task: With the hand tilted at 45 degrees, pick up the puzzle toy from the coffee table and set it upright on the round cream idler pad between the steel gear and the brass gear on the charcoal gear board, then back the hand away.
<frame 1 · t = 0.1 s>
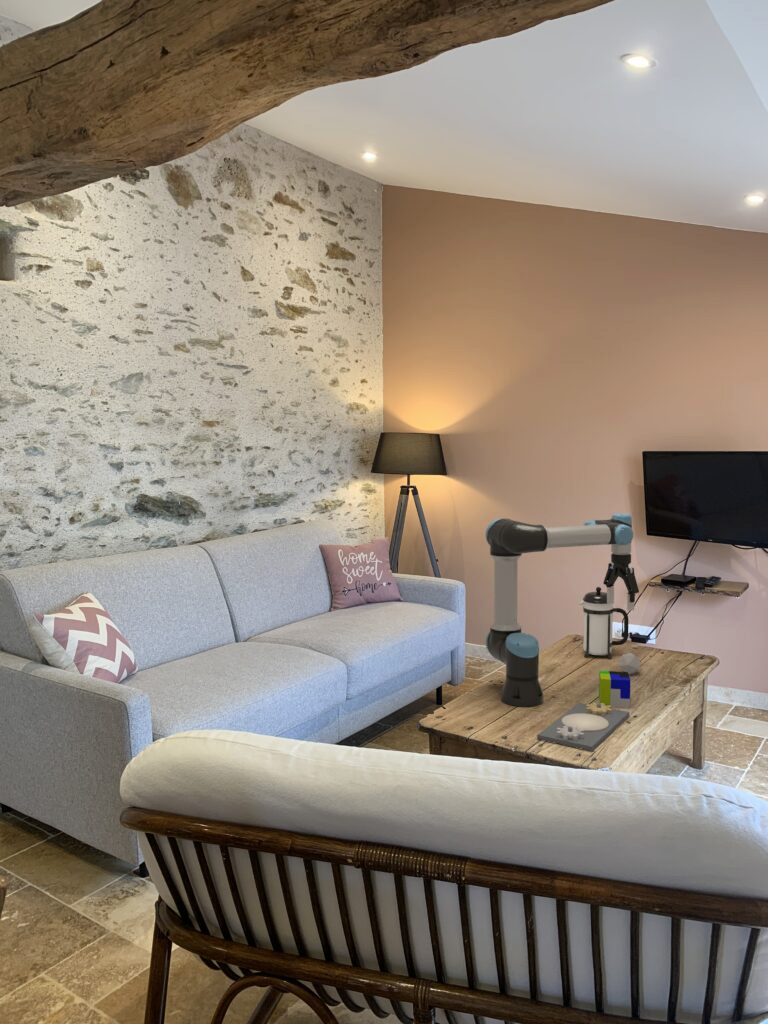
hand: (620, 606, 321), 28 cm above the table, tool pointing down, fingers open, 13 cm apart
gear board: (584, 727, 270), on the table
die: (629, 673, 328), on the table
coffee press: (600, 655, 353), on the table
puzzle toy: (614, 703, 294), on the table
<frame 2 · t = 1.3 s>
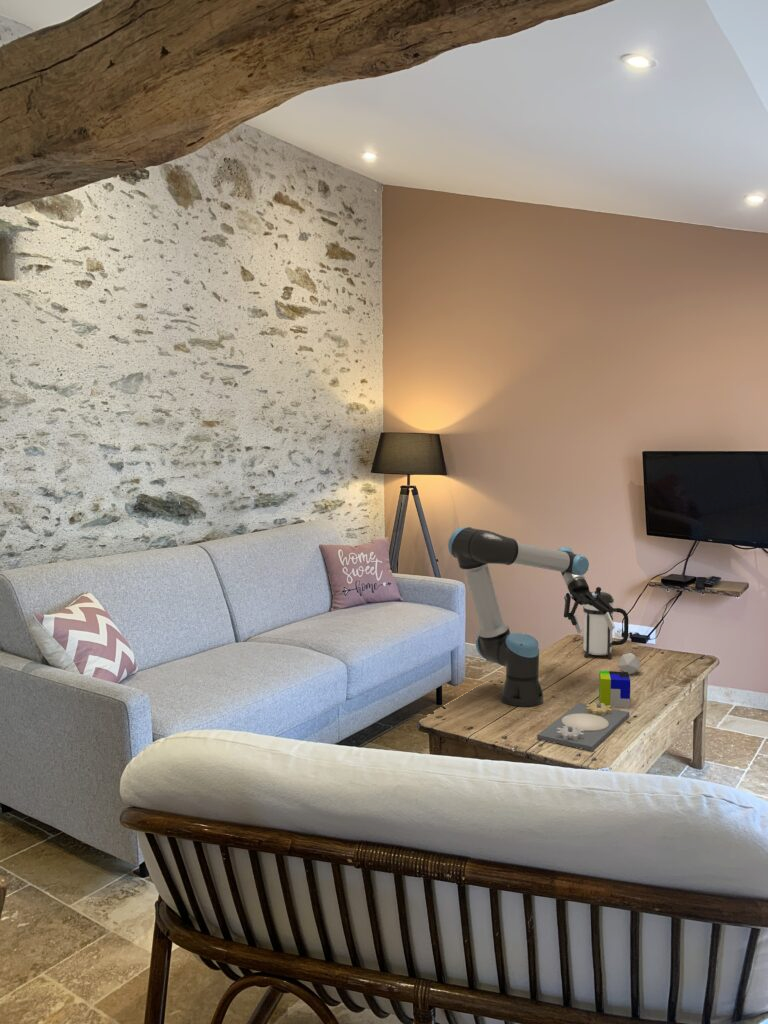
hand: (596, 630, 303), 23 cm above the table, tool tilted 45°, fingers open, 13 cm apart
nothing on the table moved.
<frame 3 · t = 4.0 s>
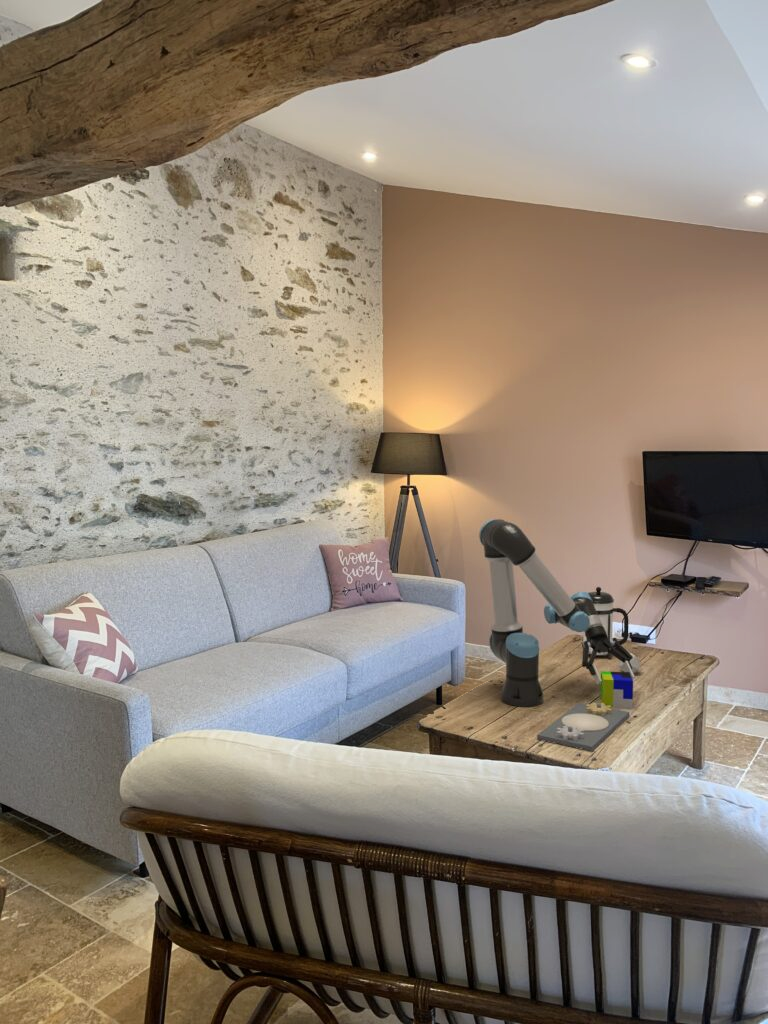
hand: (615, 680, 296), 7 cm above the table, tool tilted 45°, fingers open, 13 cm apart
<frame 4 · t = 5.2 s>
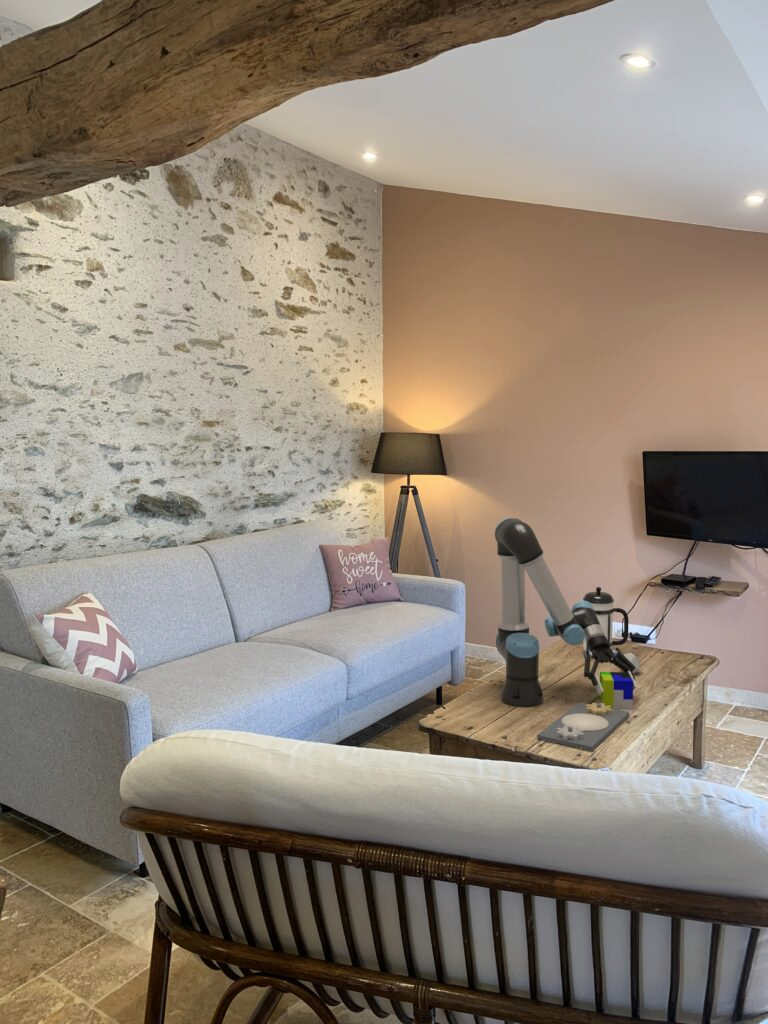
hand: (618, 691, 291), 5 cm above the table, tool tilted 45°, fingers open, 13 cm apart
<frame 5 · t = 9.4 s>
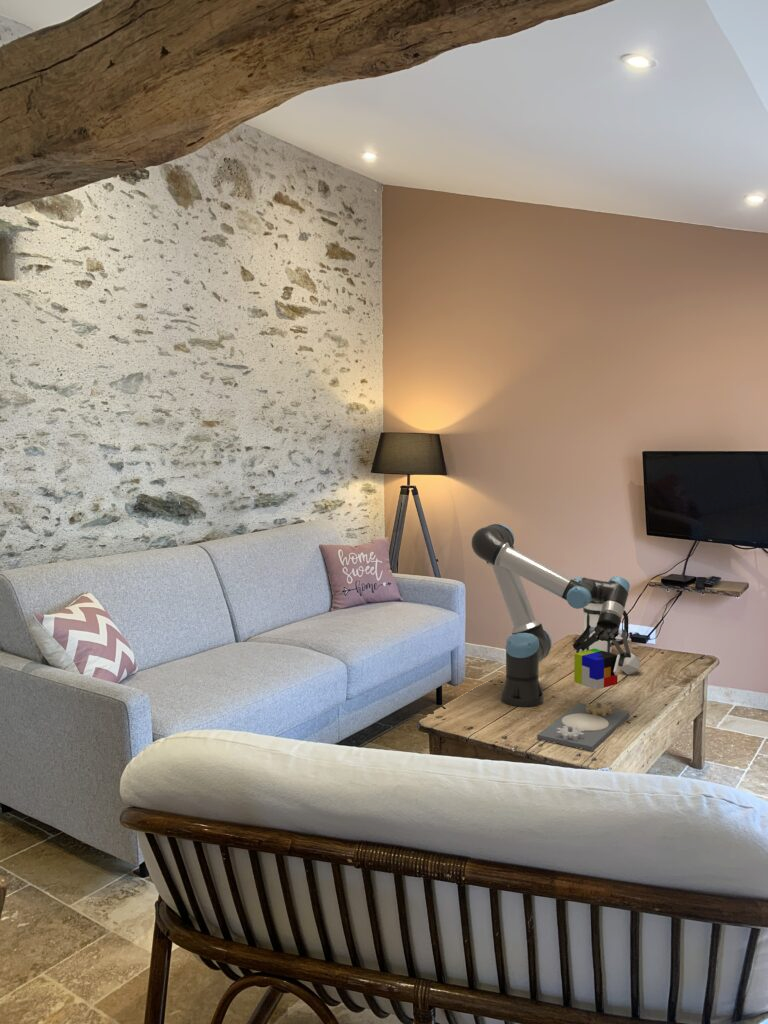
hand: (595, 670, 276), 17 cm above the table, tool tilted 45°, fingers closed on puzzle toy, 12 cm apart
puzzle toy: (595, 683, 277), point 12 cm above the table, touching gripper
everything else where it was.
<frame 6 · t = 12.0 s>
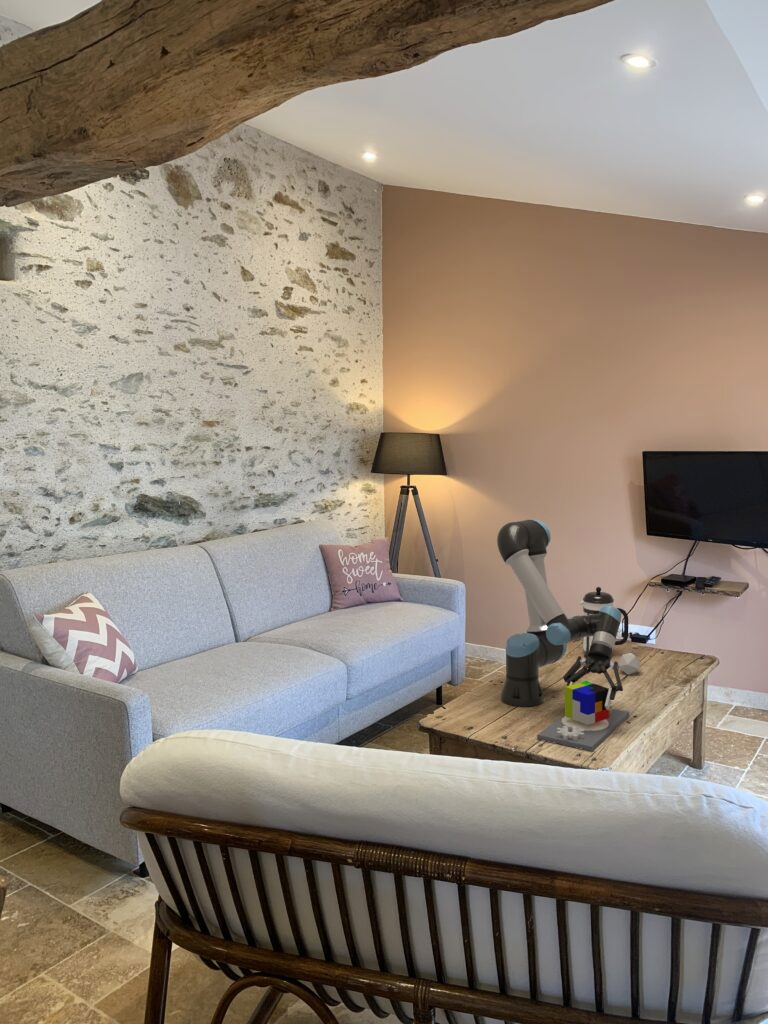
hand: (586, 704, 268), 8 cm above the table, tool tilted 45°, fingers closed on puzzle toy, 12 cm apart
puzzle toy: (586, 717, 270), point 3 cm above the table, touching gripper
everything else where it was.
when the fingers open (7 cm above the table, at t = 13.4 s): puzzle toy stays where it is, resting on gear board.
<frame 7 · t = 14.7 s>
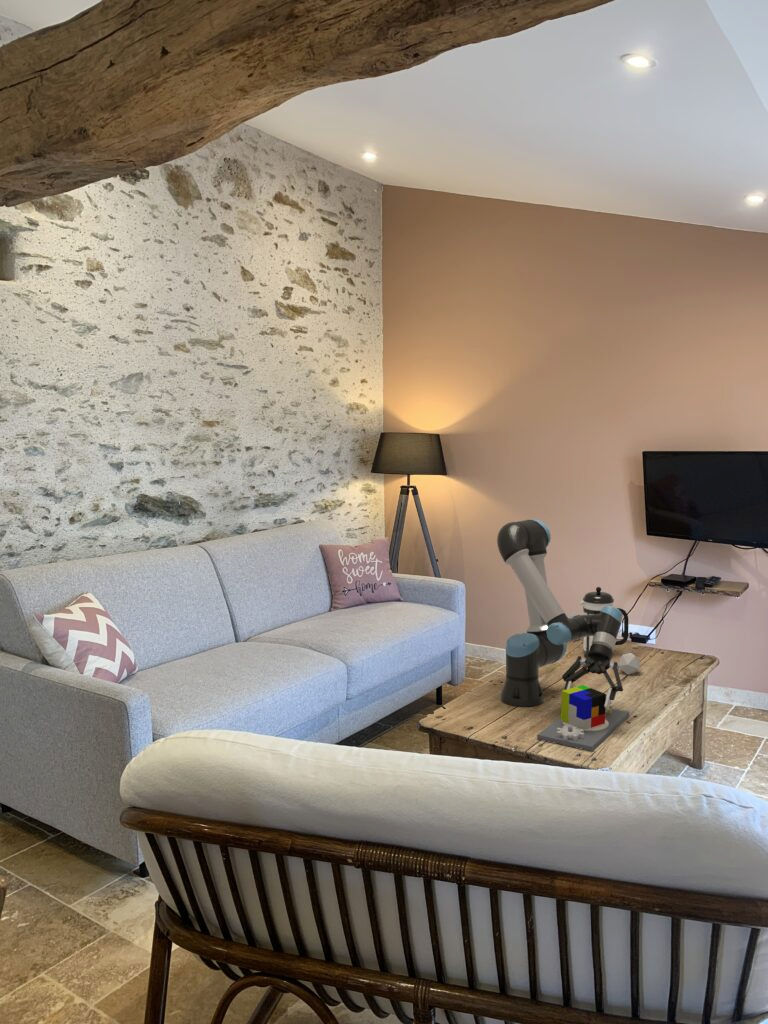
hand: (585, 704, 268), 8 cm above the table, tool tilted 45°, fingers open, 13 cm apart
puzzle toy: (582, 722, 269), point 2 cm above the table, touching gear board, gripper
everything else where it was.
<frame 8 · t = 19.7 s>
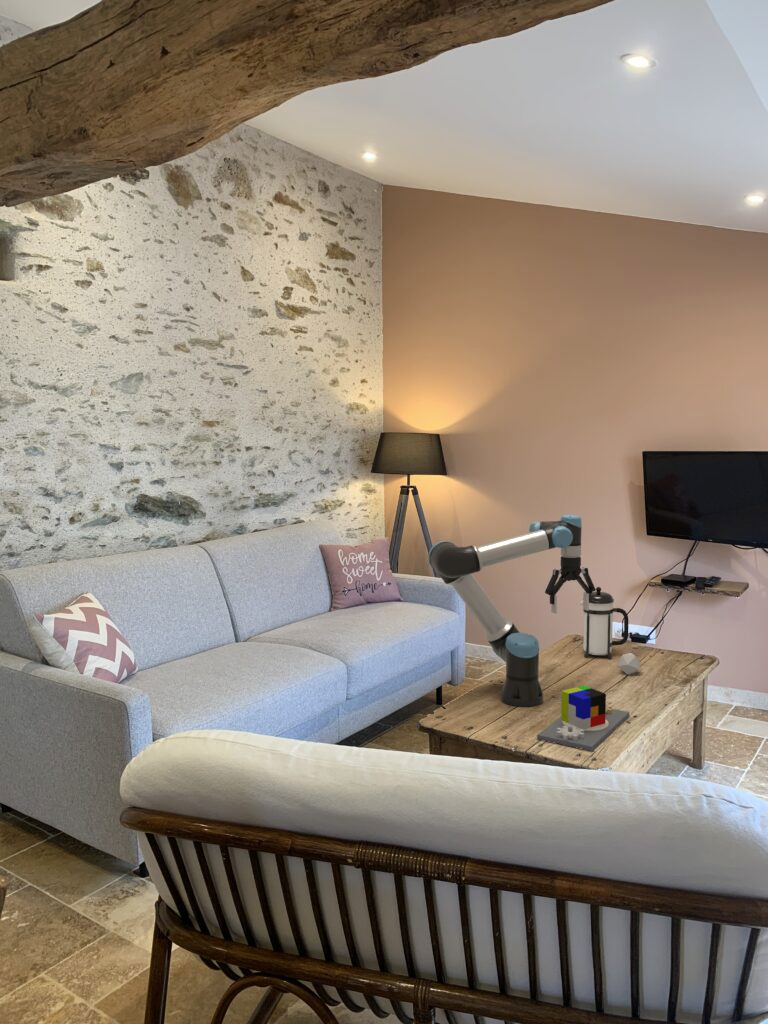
hand: (570, 611, 311), 29 cm above the table, tool pointing down, fingers open, 13 cm apart
puzzle toy: (583, 722, 270), point 2 cm above the table, touching gear board
everything else where it was.
at the end: puzzle toy inside the target area on the gear board (0.7 cm from its centre), point 1.8 cm above the gear board's base; puzzle toy tilted 0°; the gripper is holding nothing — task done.
